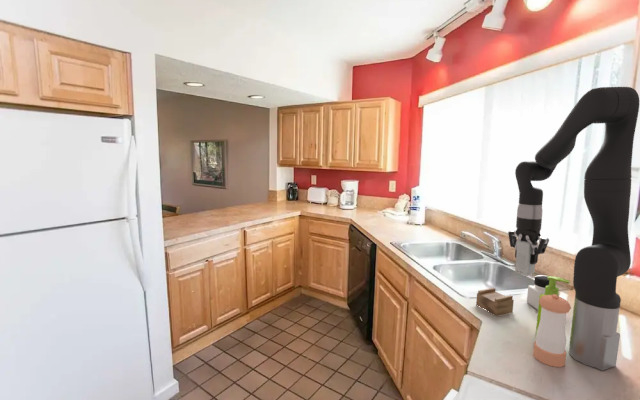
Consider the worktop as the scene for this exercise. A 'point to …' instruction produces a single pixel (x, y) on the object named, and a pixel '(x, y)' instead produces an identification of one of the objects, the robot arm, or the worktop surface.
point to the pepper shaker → (551, 331)
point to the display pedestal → (495, 302)
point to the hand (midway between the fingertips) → (525, 261)
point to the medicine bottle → (537, 290)
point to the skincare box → (524, 259)
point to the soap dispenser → (549, 293)
